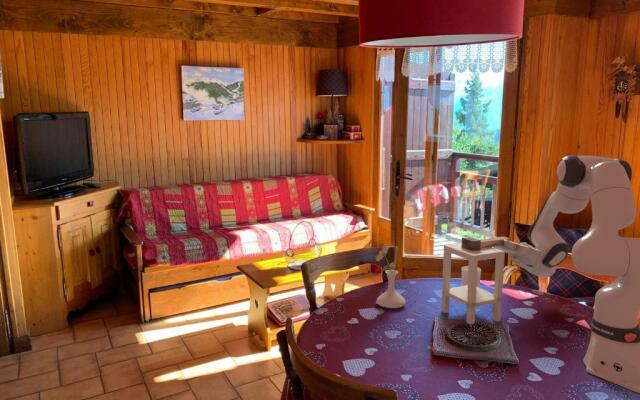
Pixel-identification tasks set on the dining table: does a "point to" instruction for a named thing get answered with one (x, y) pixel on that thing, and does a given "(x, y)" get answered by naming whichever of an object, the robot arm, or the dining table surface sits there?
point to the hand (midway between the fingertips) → (499, 240)
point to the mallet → (482, 242)
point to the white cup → (465, 276)
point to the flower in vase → (390, 296)
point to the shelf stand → (473, 281)
